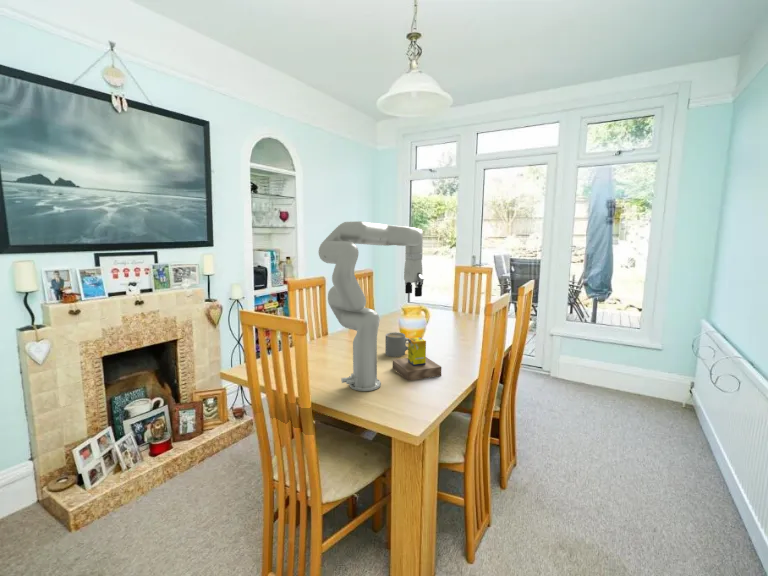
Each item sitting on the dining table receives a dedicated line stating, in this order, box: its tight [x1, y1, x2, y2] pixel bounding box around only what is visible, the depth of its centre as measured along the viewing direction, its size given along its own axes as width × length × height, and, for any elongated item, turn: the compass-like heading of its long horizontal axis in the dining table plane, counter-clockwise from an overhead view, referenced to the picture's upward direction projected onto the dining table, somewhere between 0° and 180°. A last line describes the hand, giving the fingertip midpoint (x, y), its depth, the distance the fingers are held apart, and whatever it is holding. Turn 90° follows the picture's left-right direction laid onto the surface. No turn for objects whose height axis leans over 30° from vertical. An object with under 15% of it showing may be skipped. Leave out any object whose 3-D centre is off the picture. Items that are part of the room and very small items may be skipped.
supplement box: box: [407, 336, 427, 366], centre depth 167 cm, size 6×6×11 cm
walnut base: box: [392, 357, 442, 382], centre depth 168 cm, size 16×16×4 cm
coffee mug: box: [385, 331, 410, 358], centre depth 193 cm, size 13×10×10 cm
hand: (413, 294), depth 172 cm, fingers open, 9 cm apart
